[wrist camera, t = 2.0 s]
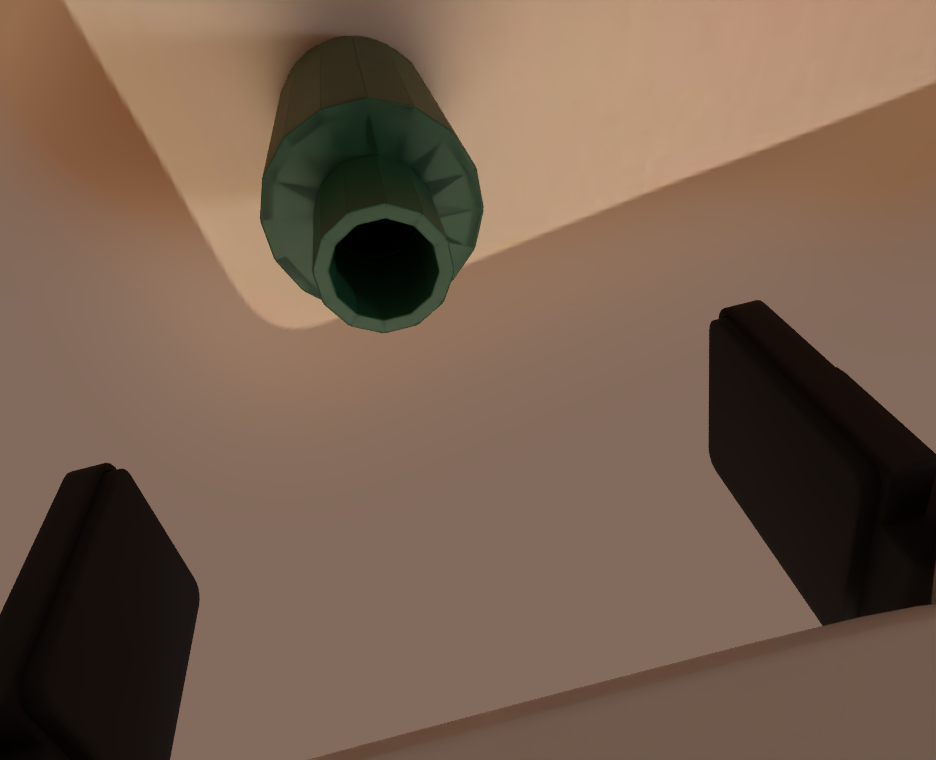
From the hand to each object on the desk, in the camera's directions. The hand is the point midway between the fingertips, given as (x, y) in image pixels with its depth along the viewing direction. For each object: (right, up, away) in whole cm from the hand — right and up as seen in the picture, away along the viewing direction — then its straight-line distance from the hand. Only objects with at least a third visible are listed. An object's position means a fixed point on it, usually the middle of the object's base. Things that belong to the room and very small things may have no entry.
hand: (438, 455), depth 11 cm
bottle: (-4, +12, +19) cm, 24 cm away
